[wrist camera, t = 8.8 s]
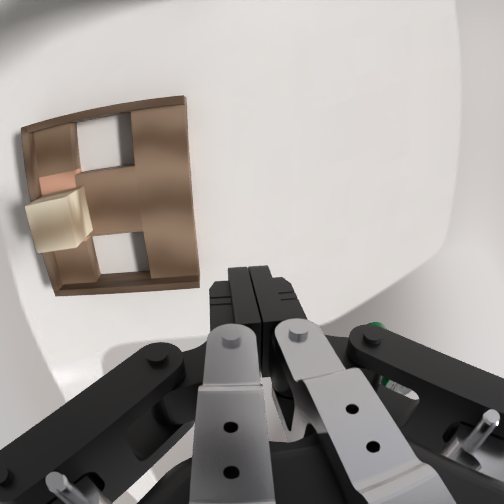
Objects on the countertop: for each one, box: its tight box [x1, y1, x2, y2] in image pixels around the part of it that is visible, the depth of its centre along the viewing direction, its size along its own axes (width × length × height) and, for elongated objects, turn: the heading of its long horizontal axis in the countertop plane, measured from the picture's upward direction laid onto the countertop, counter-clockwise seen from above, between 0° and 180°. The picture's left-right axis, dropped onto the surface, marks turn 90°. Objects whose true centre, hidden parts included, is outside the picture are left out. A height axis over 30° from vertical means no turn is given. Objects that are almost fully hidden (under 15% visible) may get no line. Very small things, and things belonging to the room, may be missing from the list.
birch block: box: [25, 186, 93, 253], centre depth 28 cm, size 5×5×5 cm
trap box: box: [21, 95, 200, 296], centre depth 31 cm, size 20×18×4 cm
